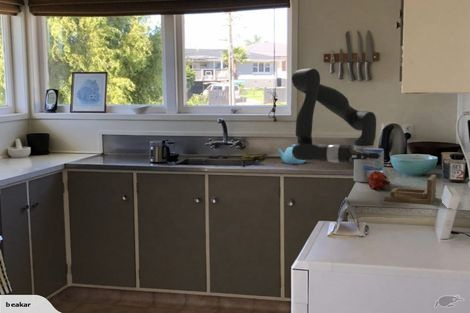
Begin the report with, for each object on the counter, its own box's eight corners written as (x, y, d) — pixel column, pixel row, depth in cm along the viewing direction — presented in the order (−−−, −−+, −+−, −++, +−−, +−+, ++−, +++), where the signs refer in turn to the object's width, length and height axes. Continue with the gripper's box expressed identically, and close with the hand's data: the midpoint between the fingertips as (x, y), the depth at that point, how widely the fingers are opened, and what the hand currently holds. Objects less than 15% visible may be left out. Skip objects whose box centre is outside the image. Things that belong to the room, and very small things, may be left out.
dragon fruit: (371, 189, 278) (385, 197, 267) (359, 179, 274) (372, 188, 263) (382, 174, 277) (397, 182, 266) (370, 164, 274) (384, 172, 263)
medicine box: (362, 170, 250) (362, 149, 249) (364, 168, 254) (364, 147, 253) (382, 170, 247) (382, 149, 246) (383, 169, 251) (384, 148, 250)
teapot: (313, 163, 357) (313, 144, 356) (293, 165, 349) (293, 146, 347) (295, 160, 370) (295, 142, 368) (276, 162, 361) (276, 144, 360)
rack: (390, 194, 256) (391, 172, 255) (435, 197, 248) (436, 174, 247) (383, 200, 243) (384, 177, 242) (430, 204, 236) (431, 179, 234)
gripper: (334, 146, 249) (376, 148, 242) (344, 142, 262) (384, 144, 255) (334, 164, 250) (376, 166, 243) (343, 160, 263) (383, 162, 256)
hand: (379, 155), depth 249 cm, fingers closed on medicine box, 4 cm apart
